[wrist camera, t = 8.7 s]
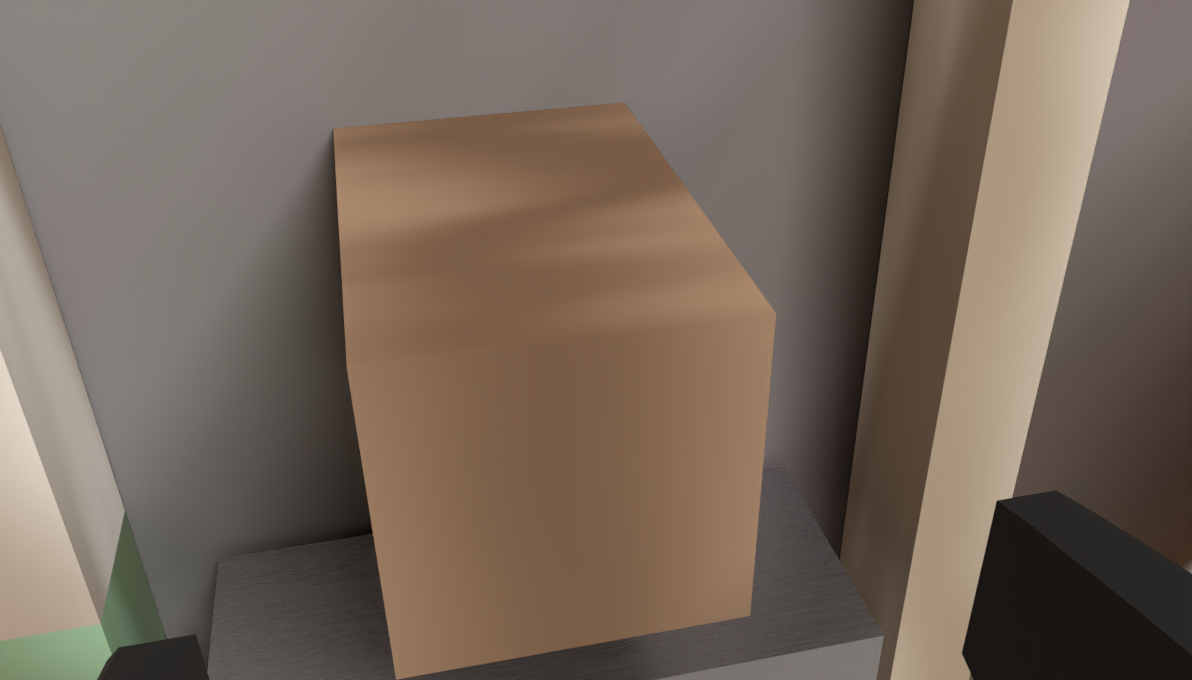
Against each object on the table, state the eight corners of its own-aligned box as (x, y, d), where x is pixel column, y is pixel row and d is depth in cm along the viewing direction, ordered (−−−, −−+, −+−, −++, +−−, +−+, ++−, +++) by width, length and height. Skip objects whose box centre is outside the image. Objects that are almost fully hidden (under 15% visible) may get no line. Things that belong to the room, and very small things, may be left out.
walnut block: (624, 101, 15) (776, 313, 10) (624, 344, 17) (750, 615, 13) (333, 128, 15) (346, 368, 10) (369, 376, 17) (396, 679, 12)
